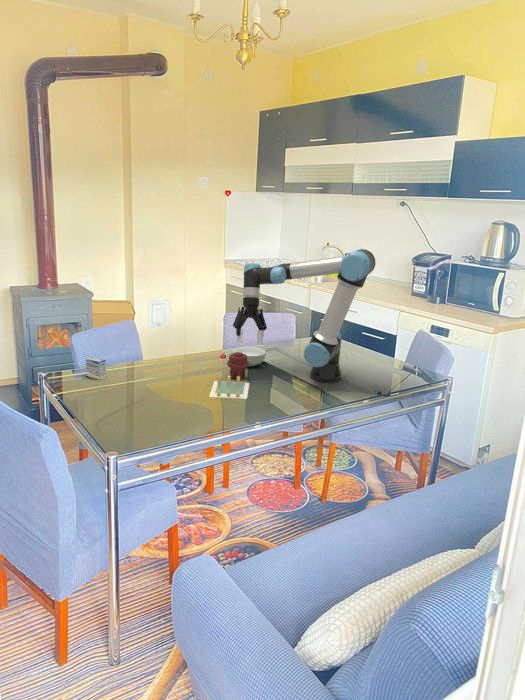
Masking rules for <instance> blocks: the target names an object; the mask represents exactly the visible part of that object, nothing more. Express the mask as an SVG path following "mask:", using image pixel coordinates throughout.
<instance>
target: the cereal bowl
mask: <svg viewBox="0 0 525 700" xmlns="http://www.w3.org/2000/svg"><path fill="white" fill-rule="evenodd" d="M236 352H240V353H242V354H245V355H247V361H248V362H249V366H248V367H255V366H257V365H259V364H261V363H263V362H264V361H265V358H266V355H267V353H266V350H265V349H262V348H260V347H254V346H241V347H236V348H234V349H232V353H231V354H233V353H236Z"/></svg>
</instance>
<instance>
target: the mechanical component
mask: <svg viewBox="0 0 525 700" xmlns="http://www.w3.org/2000/svg"><path fill="white" fill-rule="evenodd" d="M228 359H229V360H227V362H226V365H227V366H228V368H230V371H229V376H231V377H232V378H233V379H234V381H237V376H240V380H242V379H245V377H246V368H248V367H249V362H248V361H247V355H245V354H242V353H240V352H236V353H233V354H232V353H231V354H229V357H228Z"/></svg>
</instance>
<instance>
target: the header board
mask: <svg viewBox="0 0 525 700" xmlns="http://www.w3.org/2000/svg"><path fill="white" fill-rule="evenodd" d="M236 385H237V381H230V396H229V397H227V381H224V380H223V381H222V380H221V396H217V386H218V380H214V382H213V384H212V387H211V390H210V392H209V395H208V397H209V398H220V399H221V398H222V399H242V400H247V399H248V394H249V388H250V382H241V381H240V395H239V397H236Z"/></svg>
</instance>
